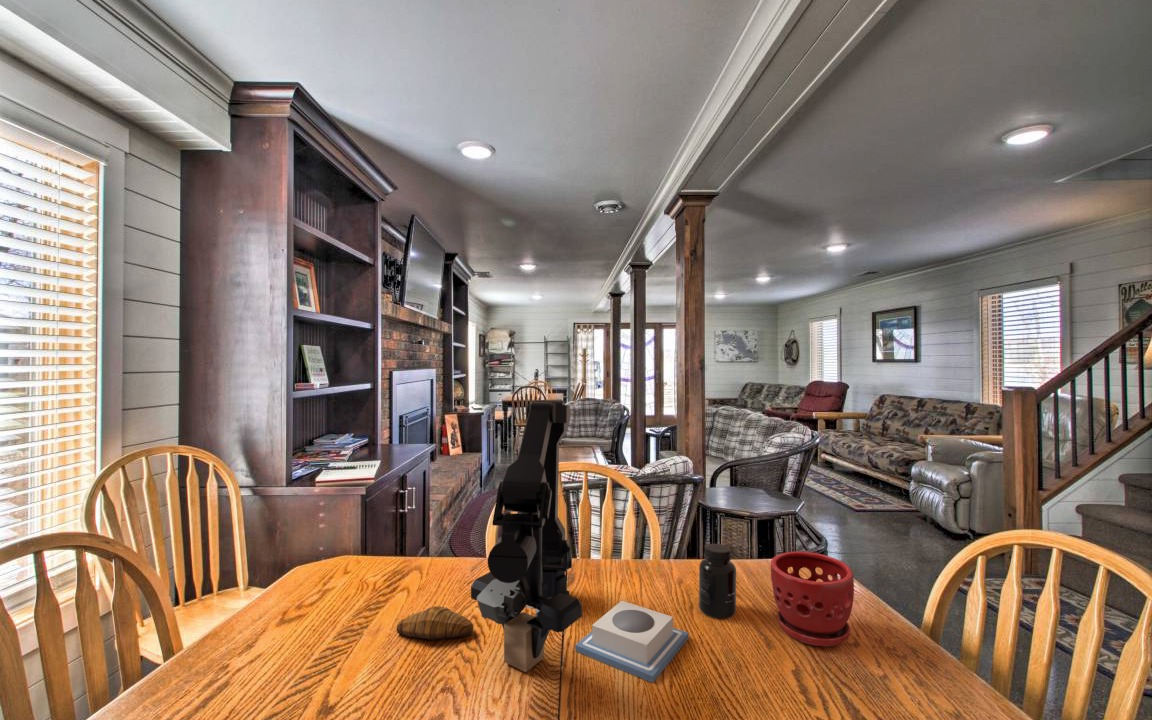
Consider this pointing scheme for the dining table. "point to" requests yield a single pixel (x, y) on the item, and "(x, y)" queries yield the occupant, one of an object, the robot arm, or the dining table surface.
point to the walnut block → (520, 643)
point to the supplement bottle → (717, 582)
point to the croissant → (435, 624)
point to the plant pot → (813, 597)
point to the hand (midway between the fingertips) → (524, 651)
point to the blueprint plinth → (634, 640)
